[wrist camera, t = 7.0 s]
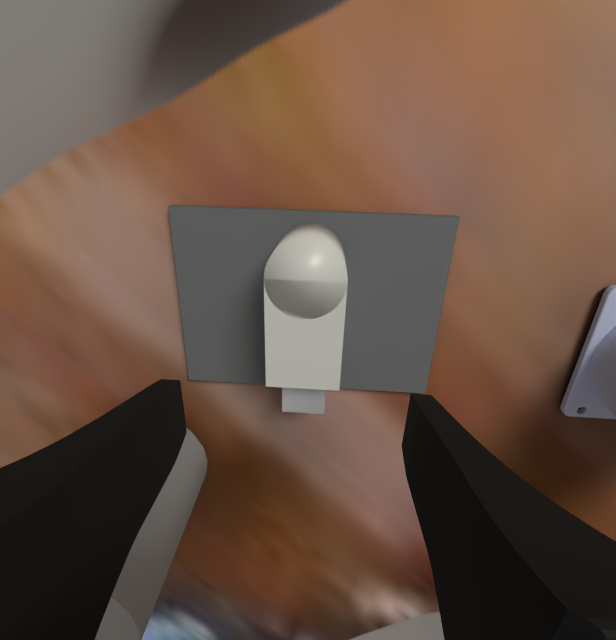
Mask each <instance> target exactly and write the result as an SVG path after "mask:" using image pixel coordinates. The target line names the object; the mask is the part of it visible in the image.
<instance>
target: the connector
mask: <svg viewBox="0 0 616 640" xmlns="http://www.w3.org/2000/svg"><path fill="white" fill-rule="evenodd" d="M347 285H348V276H347V269H346V262H345V255H344V249H343V245H342V243H341V241H340V239H339V237H338V236H337V235H336V233H335V232H334V231H333V230H331V229H330V228H329V227H327V226H325V225H322V224H320V223H315V222H306V223H301V224H298V225H296V226H294V227H292V228H290V229H289V230H288V231H287V232H286V233H285V234H284V235H283V237H282V238H281V240H280V241H279V243H278V245H277V246H276V248H275V250H274V251H273V253H272V254H271V256H270V258H269V260H268V262H267V264H266V267H265V271H264V320H265V369H266V387H282V412H298V413H314V414H324V408H325V391H326V390H336V391H339V388H340V375H341V362H342V349H343V336H344V323H345V311H346V298H347Z"/></svg>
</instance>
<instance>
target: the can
mask: <svg viewBox="0 0 616 640" xmlns="http://www.w3.org/2000/svg"><path fill="white" fill-rule="evenodd" d="M186 430H187V433H186V436H185V439H184V441H183V444H182V447H181V450H180V452H179V455H178V457H177V460H176V462H175V464H174V466H173V468H172V470H171V472H170V474H169V476H168V478H167V480H166V482H165V483H164V485H163V487H162V489H161V491H160V493H159V495H158V497H157V499H156V500H155V502H154V504H153V506H152V508H151V510H150V512H149V514H148V515H147V517H146V519H145V521H144V523H143V525H142V527H141V529H140V531H139V533H138V535H137V537H136V539H135V541H134V543H133V545H132V547H131V550H130V552H129V554H128V557H127V559H126V562H125V564H124V566H123V569H122V571H121V574H120V576H119V578H118V581H117V583H116V586H115V588H114V591H113V593H112V596H111V599H110V601H109V604H108V606H107V609H106V611H105V614H104V616H103V619H102V621H101V624H100V627H99V630H98V632H97V635H96V638H95V640H141V639H142V637H143V634H144V632H145V629H146V626H147V624H148V621H149V619H150V616H151V614H152V611H153V609H154V606H155V604H156V601H157V598H158V596H159V593H160V591H161V588H162V586H163V583H164V581H165V578H166V576H167V573H168V570H169V568H170V565H171V563H172V560H173V558H174V555H175V553H176V550H177V548H178V545H179V542H180V540H181V537H182V535H183V532H184V530H185V527H186V525H187V522H188V520H189V517H190V514H191V512H192V509H193V507H194V504H195V502H196V499H197V497H198V494H199V492H200V489H201V486H202V484H203V481H204V479H205V476H206V472H207V463H208V461H207V457H206V454H205V451H204V447H203V446H202V445H201V443H200V442H199V441H198V439H197V438H196V436H195V435H194V434H193V433H192V432H191V431H190V430H189V429H188V428H186Z"/></svg>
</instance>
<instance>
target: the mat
mask: <svg viewBox="0 0 616 640" xmlns="http://www.w3.org/2000/svg"><path fill="white" fill-rule="evenodd" d="M168 210H169V218H170V227H171V235H172V243H173V252H174V260H175V268H176V276H177V285H178V293H179V301H180V310H181V318H182V326H183V334H184V343H185V351H186V359H187V367H188V376H189V380H200V381H217V382H235V383H252V384H266V369H265V320H264V271H265V267H266V264H267V262H268V260H269V258H270V256H271V254H272V253H273V251H274V250H275V248H276V246H277V245H278V243H279V241H280V240H281V238H282V237H283V235H284V234H285V233H286V232H287V231H288V230H289V229H290V228H292V227H294V226H296V225H298V224H301V223H306V222H315V223H320V224H322V225H325V226H327V227H329V228H330V229H331V230H333V231H334V232H335V233H336V235H337V236H338V237H339V239H340V241H341V243H342V245H343V249H344V255H345V262H346V269H347V276H348V285H347V298H346V311H345V323H344V336H343V349H342V362H341V375H340V389H357V390H375V391H392V392H410V393H425V392H426V387H427V382H428V377H429V372H430V367H431V361H432V356H433V351H434V346H435V341H436V336H437V330H438V325H439V320H440V315H441V310H442V304H443V299H444V294H445V289H446V284H447V279H448V273H449V268H450V263H451V258H452V253H453V247H454V242H455V237H456V232H457V227H458V222H459V217H458V216H449V215H423V214H397V213H371V212H345V211H319V210H293V209H266V208H240V207H214V206H188V205H170V206H168Z"/></svg>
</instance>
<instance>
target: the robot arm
mask: <svg viewBox="0 0 616 640" xmlns="http://www.w3.org/2000/svg"><path fill="white" fill-rule="evenodd" d="M580 407H582V408H581V409H579V410H578V408H580ZM560 409H561V411H562V412H563V413H564V414H565V415H566V416H570V417H587V418H604V419H616V285H612V286H610V287H608V288H607V289H606V290H605V291H604V293H603V296H602V298H601V301H600V303H599V306H598V309H597V311H596V314H595V317H594V319H593V322H592V325H591V327H590V330H589V332H588V335H587V338H586V340H585V343H584V346H583V348H582V351H581V353H580V356H579V359H578V361H577V364H576V367H575V369H574V372H573V374H572V377H571V380H570V382H569V385H568V388H567V390H566V393H565V396H564V398H563V401H562V403H561V406H560ZM186 433H187V430H186V422H185V414H184V407H183V399H182V392H181V384H180V380H164V379H161V380H159V381H157V382H155V383H154V384H152V385H150V386H149V387H147V388H145V389H144V390H142V391H141V392H139V393H138V394H136V395H134V396H133V397H131V398H130V399H128V400H127V401H125V402H123V403H122V404H120V405H119V406H117V407H115V408H114V409H112V410H111V411H109V412H108V413H106V414H104V415H103V416H101V417H99V418H98V419H96V420H94V421H92V422H91V423H89V424H87V425H86V426H84V427H82V428H80V429H79V430H77V431H75V432H73V433H72V434H70V435H68V436H66V437H64V438H63V439H61V440H59V441H57V442H55V443H53V444H51V445H49V446H47V447H45V448H43V449H41V450H39V451H37V452H35V453H33V454H31V455H29V456H27V457H25V458H22V459H20V460H18V461H16V462H13V463H11V464H9V465H6V466H4V467H2V468H0V640H95V638H96V635H97V632H98V630H99V627H100V624H101V621H102V619H103V616H104V614H105V611H106V609H107V606H108V604H109V601H110V599H111V596H112V593H113V591H114V588H115V586H116V583H117V581H118V578H119V576H120V574H121V571H122V569H123V566H124V564H125V562H126V559H127V557H128V554H129V552H130V550H131V547H132V545H133V543H134V541H135V539H136V537H137V535H138V533H139V531H140V529H141V527H142V525H143V523H144V521H145V519H146V517H147V515H148V514H149V512H150V510H151V508H152V506H153V504H154V502H155V500H156V499H157V497H158V495H159V493H160V491H161V489H162V487H163V485H164V483H165V482H166V480H167V478H168V476H169V474H170V472H171V470H172V468H173V466H174V464H175V462H176V460H177V457H178V455H179V452H180V450H181V447H182V444H183V441H184V439H185V436H186ZM402 451H403V458H404V464H405V470H406V476H407V480H408V484H409V488H410V491H411V495H412V498H413V502H414V506H415V509H416V513H417V516H418V519H419V523H420V526H421V530H422V533H423V537H424V540H425V544H426V547H427V551H428V555H429V559H430V563H431V567H432V572H433V578H434V583H435V588H436V594H437V599H438V604H439V610H440V615H441V621H442V627H443V633H444V639H445V640H616V541H614V540H612V539H611V538H609V537H607V536H606V535H604V534H602V533H601V532H599V531H597V530H596V529H594V528H592V527H591V526H589V525H588V524H586V523H585V522H583V521H581V520H580V519H578V518H577V517H575V516H574V515H572V514H571V513H569V512H568V511H566V510H565V509H563V508H562V507H560V506H559V505H557V504H556V503H554V502H553V501H551V500H550V499H549V498H547V497H546V496H544V495H543V494H542V493H540V492H539V491H538V490H536V489H535V488H534V487H532V486H531V485H530V484H528V483H527V482H526V481H524V480H523V479H522V478H520V477H519V476H518V475H516V474H515V473H514V472H513V471H511V470H510V469H509V468H508V467H507V466H505V465H504V464H503V463H502V462H501V461H500V460H498V459H497V458H496V457H495V456H494V455H493V454H491V453H490V452H489V451H488V450H487V449H486V448H485V447H484V446H482V445H481V444H480V443H479V442H478V441H477V440H476V439H475V438H474V437H473V436H472V435H471V434H470V433H469V432H468V431H467V430H465V429H464V428H463V427H462V426H461V425H460V424H459V423H458V422H457V421H456V420H455V419H454V418H453V417H452V416H451V415H450V414H449V413H448V412H447V410H446V409H445V408H444V407H443V406H442V405H441V404H440V403H439V402H438V401H437V400H436V399H435V398H434V397H433V396H431V395H422V394H411V396H410V401H409V407H408V413H407V419H406V424H405V430H404V436H403V442H402Z"/></svg>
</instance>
